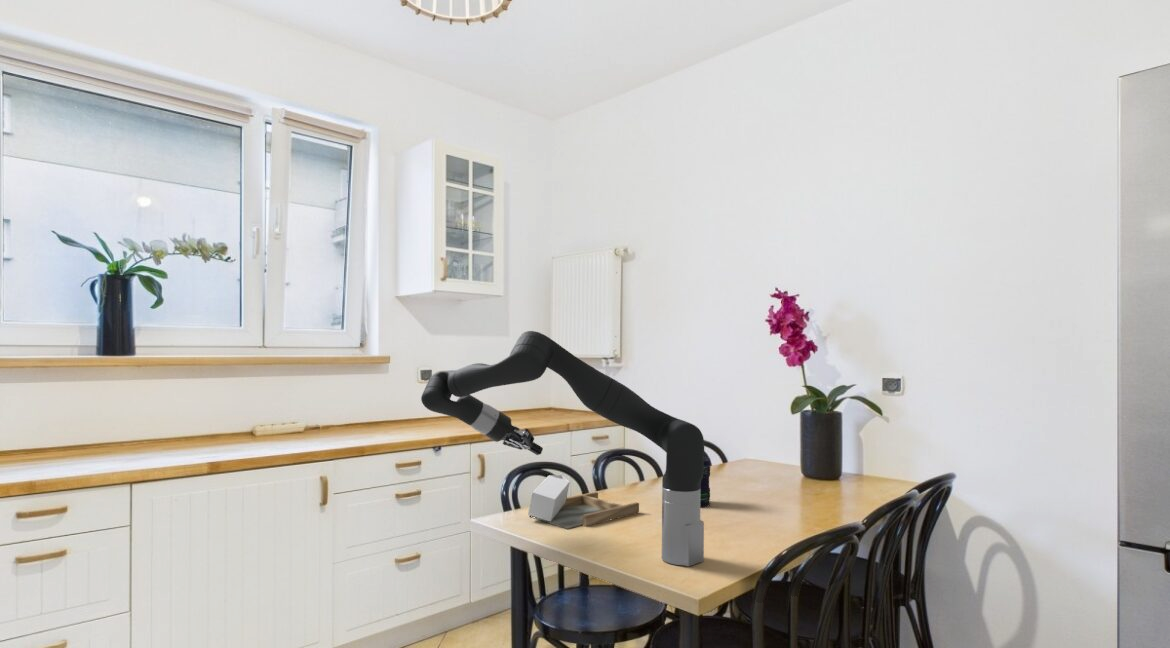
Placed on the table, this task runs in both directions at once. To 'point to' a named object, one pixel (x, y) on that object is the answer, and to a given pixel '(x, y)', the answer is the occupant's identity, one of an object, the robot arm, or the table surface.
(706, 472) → the dark blue barrel
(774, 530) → the table surface
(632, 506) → the tray
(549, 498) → the milk carton
